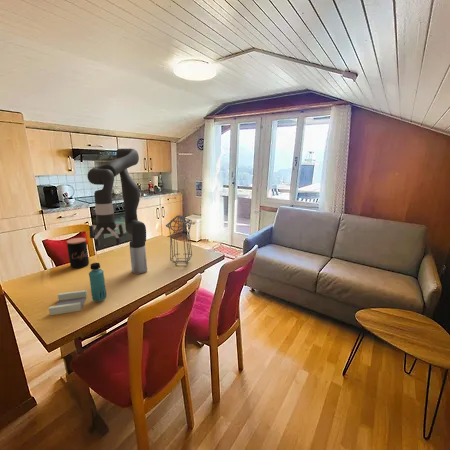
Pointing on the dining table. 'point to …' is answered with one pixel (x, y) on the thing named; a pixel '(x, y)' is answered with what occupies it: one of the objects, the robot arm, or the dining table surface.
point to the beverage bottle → (97, 283)
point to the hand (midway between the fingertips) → (108, 245)
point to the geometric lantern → (178, 236)
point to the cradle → (69, 302)
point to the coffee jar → (77, 253)
